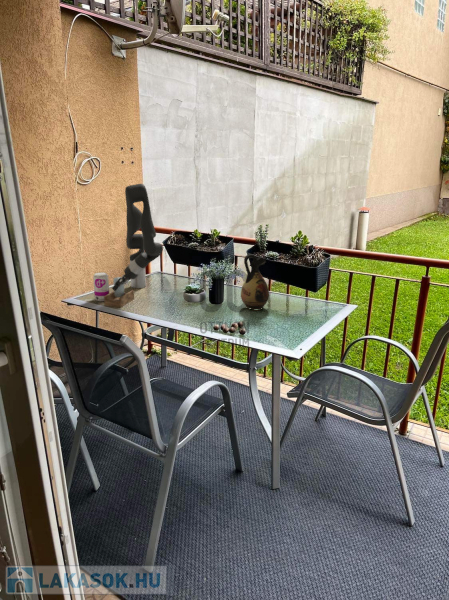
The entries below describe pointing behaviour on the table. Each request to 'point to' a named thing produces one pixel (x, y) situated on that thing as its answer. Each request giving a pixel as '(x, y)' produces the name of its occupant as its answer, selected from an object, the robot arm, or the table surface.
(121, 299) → the wooden serving tray
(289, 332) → the table surface
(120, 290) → the domed pale cylinder
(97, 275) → the supplement can
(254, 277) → the ceramic jug
